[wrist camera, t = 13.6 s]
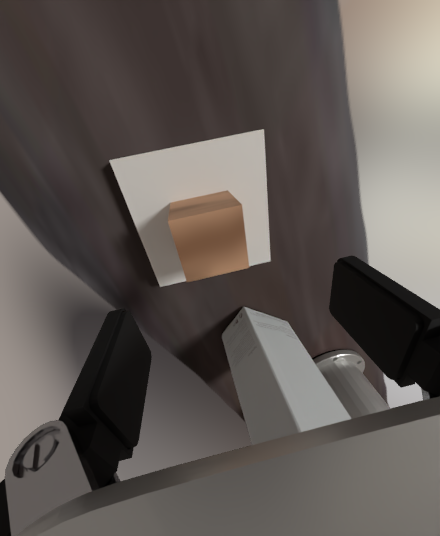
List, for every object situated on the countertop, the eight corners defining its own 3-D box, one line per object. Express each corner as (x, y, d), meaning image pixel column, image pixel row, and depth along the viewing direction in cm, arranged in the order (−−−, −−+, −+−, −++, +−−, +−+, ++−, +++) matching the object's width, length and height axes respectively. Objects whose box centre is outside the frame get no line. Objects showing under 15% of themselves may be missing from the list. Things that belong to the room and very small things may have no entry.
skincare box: (220, 334, 29) (251, 482, 16) (244, 302, 27) (302, 445, 14) (267, 347, 32) (324, 480, 20) (292, 320, 30) (374, 450, 17)
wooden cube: (235, 242, 21) (249, 267, 17) (185, 253, 21) (186, 282, 16) (227, 190, 18) (242, 204, 14) (170, 202, 18) (167, 221, 14)
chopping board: (266, 255, 24) (270, 261, 23) (161, 280, 23) (160, 287, 22) (258, 129, 17) (263, 129, 16) (113, 159, 17) (109, 160, 16)
